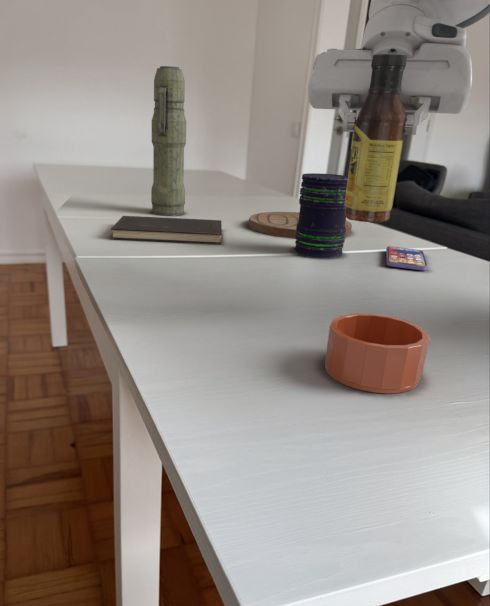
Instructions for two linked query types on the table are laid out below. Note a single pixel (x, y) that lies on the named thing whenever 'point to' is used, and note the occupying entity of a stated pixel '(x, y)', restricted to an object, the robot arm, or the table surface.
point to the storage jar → (321, 216)
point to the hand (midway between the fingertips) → (379, 129)
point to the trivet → (280, 223)
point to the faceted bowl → (376, 352)
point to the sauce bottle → (377, 143)
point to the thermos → (168, 142)
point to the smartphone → (405, 258)
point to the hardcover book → (168, 230)
